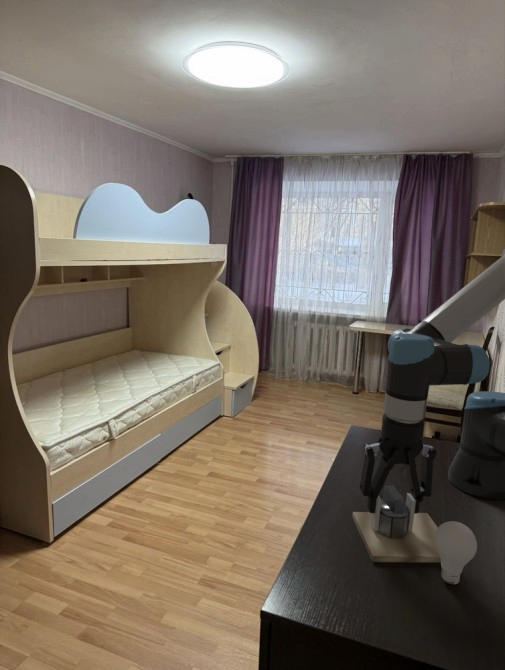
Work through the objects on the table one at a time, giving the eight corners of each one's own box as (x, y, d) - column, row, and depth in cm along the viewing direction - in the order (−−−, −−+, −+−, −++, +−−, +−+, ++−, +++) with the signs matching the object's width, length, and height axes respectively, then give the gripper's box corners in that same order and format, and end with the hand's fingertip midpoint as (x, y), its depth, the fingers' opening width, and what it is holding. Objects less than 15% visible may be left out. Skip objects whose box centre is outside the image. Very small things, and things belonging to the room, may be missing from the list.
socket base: (426, 518, 100) (429, 499, 99) (458, 562, 86) (461, 541, 85) (352, 517, 99) (354, 498, 98) (372, 561, 85) (374, 540, 84)
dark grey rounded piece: (411, 537, 90) (415, 499, 89) (381, 538, 90) (385, 500, 88) (398, 520, 96) (402, 484, 95) (370, 520, 96) (373, 485, 94)
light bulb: (474, 599, 77) (484, 539, 75) (432, 592, 78) (440, 533, 76) (465, 572, 83) (474, 516, 81) (426, 565, 85) (433, 510, 82)
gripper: (443, 410, 92) (429, 516, 97) (348, 407, 91) (338, 515, 96) (462, 425, 85) (446, 538, 90) (359, 422, 84) (348, 538, 88)
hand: (390, 526), depth 93 cm, fingers closed on dark grey rounded piece, 6 cm apart
